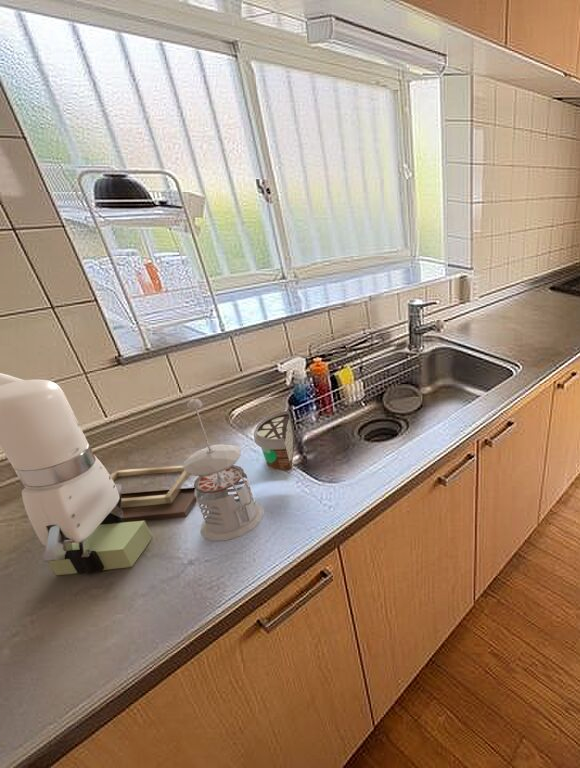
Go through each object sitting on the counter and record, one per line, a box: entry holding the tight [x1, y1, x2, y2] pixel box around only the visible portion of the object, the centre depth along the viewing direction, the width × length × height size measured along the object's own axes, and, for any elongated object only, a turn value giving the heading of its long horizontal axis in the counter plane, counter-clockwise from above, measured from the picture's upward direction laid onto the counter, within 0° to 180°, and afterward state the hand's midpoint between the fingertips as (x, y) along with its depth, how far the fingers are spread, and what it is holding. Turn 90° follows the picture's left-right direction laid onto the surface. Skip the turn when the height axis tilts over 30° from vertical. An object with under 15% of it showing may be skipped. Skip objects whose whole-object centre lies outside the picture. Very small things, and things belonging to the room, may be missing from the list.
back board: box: [109, 464, 197, 522], centre depth 80 cm, size 20×15×3 cm
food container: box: [253, 409, 296, 471], centre depth 88 cm, size 12×6×10 cm, turn 21°
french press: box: [183, 398, 265, 542], centre depth 70 cm, size 10×12×25 cm
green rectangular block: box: [47, 521, 153, 576], centre depth 67 cm, size 10×6×4 cm, turn 102°
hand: (105, 552), depth 67 cm, fingers closed on green rectangular block, 6 cm apart
